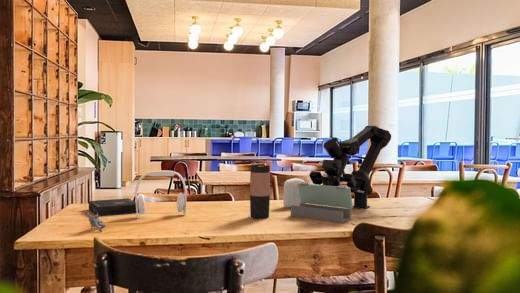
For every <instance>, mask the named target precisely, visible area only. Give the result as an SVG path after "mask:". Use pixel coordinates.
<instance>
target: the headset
mask: <svg viewBox="0 0 520 293" xmlns="http://www.w3.org/2000/svg"><path fill="white" fill-rule="evenodd" d="M147 175H148V176H149V177H174V176H178V177H179V179H180V180H181V182H182V184H183V190H184V193H182V192H179V193H178V195H177V197H176V210H177V212H178V213H182V212H183V215H184V216H186V211H187V200H188V199H187V198H188V190H187V189H188V188H187V185H186V181H185V179H184V178H183V176H182V174H180V173H179V172H178V171H177V172H176V171H174V170H164V169H163V170H150V171H146V172H145V173H143V174H142V175H141V176H140V177H139V178H138V180H137V182H136V186H135V188H134V199H135V200H134V201H135V202H136V213H135V214H136V219H137V220H138V219H139V214H141V215H142V214H144V213H146V212H145V211H146V206H145V205H146V204H145V196H144V194H143V193H139V194H138V190H139V186H140V184H141V182H142V180H143V178H145V177H146V176H147ZM138 209H139V213H138Z"/></svg>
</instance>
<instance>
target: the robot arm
mask: <svg viewBox="0 0 520 293" xmlns="http://www.w3.org/2000/svg"><path fill="white" fill-rule="evenodd" d="M369 140H370V146H369V147H368V150H367V152H366V154H365V156H364V158H363V160H362V162H361V164H360V166H359V168H358V169H357V170H352V171H351V173H346V172H345V169H346V166H347V165H351V163H352V162H351V160H350V159H349V156H350V157H353V156H356V155H357V154H358V152H359V151H360V147H361V146H362V145H363V144H364V143H366V142H367V141H369ZM391 140H392V134H391V133H390V131H389V130H387V129H383V128H380V127H378V126H376V125H366V126H365V127H364V128H362V129H361V131H359V132H358V133H357V134H356V135H354V136H353V137H351V138H349V139H345V140H343V141H341V142H339V140H338V138H337V137H333V136H332V138H331V139H328V140H327V141H325V142H324V143H323V149H324V150H325V151H326V153H327V155H328V156H329V158H332V159H322V164H321V168H322V169H323V170H324V173H321V171H318V170H312V171H310V172H309V175H308V176H309V178H310V180H311V183H312V184H317V185H328V186H342V184H343V183H346V187H349V188H350V190H351V194H353V204H352V205H353V208H354V209H362V210H366V209H368V208H370V207H371V205H368V195H372V194H373V191H374V189H373V187H372V185H371V184H370V182H371V179H370V174H371V172H372V170H373V167H374V165H375V163H376V161H377V159H378V156H379V155H380V153H381V151H382V149H384V148H385V147H387V146H388V145H389V144H390V142H391ZM353 208H352V209H353Z"/></svg>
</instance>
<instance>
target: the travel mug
mask: <svg viewBox="0 0 520 293" xmlns="http://www.w3.org/2000/svg"><path fill="white" fill-rule="evenodd" d="M249 169H250V175H249V176H250V177H249V180H250V181H249V203H250V204H249V208H250V210H249V211H250V214H249V215H250V218H251V219H255V220H256V219H257V220H262V219H263V220H264V219H268V218H269V217H270V201H271V200H270V199H271V198H270V197H271V165H269V164H266V165H264V166H263V165H261V164H252V165H250V168H249Z"/></svg>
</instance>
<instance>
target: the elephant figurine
mask: <svg viewBox="0 0 520 293" xmlns="http://www.w3.org/2000/svg"><path fill="white" fill-rule="evenodd" d="M83 213H84V214H85V215H86V216H87V217H88V222H89V224H90V226H91V227H90V230H92V229H93V228H96V229H97V230H98V231H99V232H100V233H103V230H102V229H103V228H105V227H106V225H107V224H106V223H104V221H103V220H100V217H101V216H98V213H97V215H95V214H94V215H92V214H90V210H88V211H87V210H84V212H83Z"/></svg>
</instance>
